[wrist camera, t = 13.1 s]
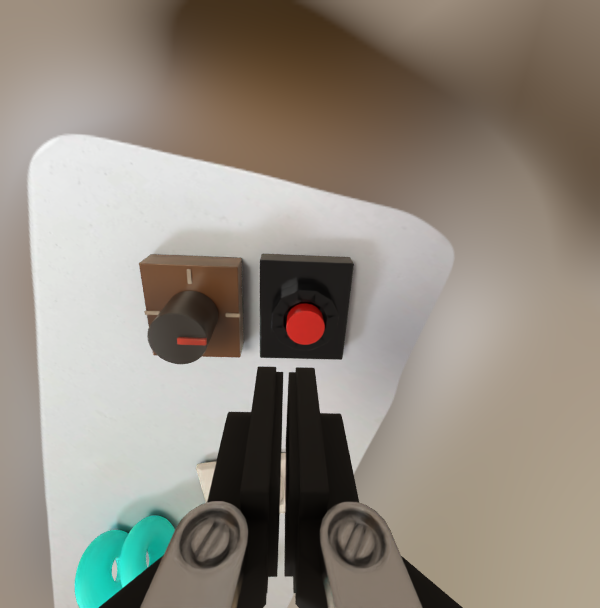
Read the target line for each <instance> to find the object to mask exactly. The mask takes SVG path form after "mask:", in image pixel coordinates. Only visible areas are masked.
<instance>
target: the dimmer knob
mask: <svg viewBox="0 0 600 608" xmlns="http://www.w3.org/2000/svg"><path fill="white" fill-rule="evenodd" d="M217 322H218V310H217V308H216V305H215V304H214V302H213V301H212V300H211V299H210V298H209V297H208V296H206V295H204V294H202V293H200V292H197V291H183V292H180V293H177V294H176V295H174V296H173V297H172V298H171V299H170V300H169V302H168V303H167V304H166V305H165V307H164V308H163V309H162V311H161V312H160V313H159V314H158V316H157V317H156V318H155V319H154V321H153V322H152V323H151V325H150V327H149V329H148V342H149V344H150V346H151V348H152V350H153V351H154V352H155V353H156V354H157V355H158V356H159V357H160V358H162V359H164V360H165V361H168V362H171V363H175V364H188V363H191V362H194V361H196V360H198V359H199V358H200V357H201V356H202V355H203V354H204V353H205V351H206V349H207V346H208V344H209V342H210V339H211V337H212V334H213V332H214V329H215V327H216V325H217Z"/></svg>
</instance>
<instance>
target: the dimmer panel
mask: <svg viewBox="0 0 600 608" xmlns="http://www.w3.org/2000/svg"><path fill="white" fill-rule="evenodd" d="M139 266H140V272H141V279H142V285H143V292H144V298H145V305H146V311H145V315H147V318H148V324H149V327H150V325H151V323H152V322H153V321H154V319H155V318H156V317H157V316H158V314H159V313H160V312H161V311H162V309H163V308H164V307H165V305H166V304H167V303H168V302H169V300H170V299H171V298H172V297H173V296H174V295H176V294H177V293H180V292H183V291H197V292H200V293H202V294H204V295H206V296H208V297H209V298H210V299H211V300H212V301H213V302H214V304H215V305H216V308H217V310H218V322H217V325H216V327H215V329H214V332H213V334H212V337H211V339H210V342H209V344H208V346H207V349H206V351H205V353H204V354H203V355H202V356H205V357H240V356H241V352H242V347H243V343H244V338H243V294H242V258H235V257H209V256H183V255H157V254H151V255H150V256H148V257H147V258H146V259H144V260H143V261H142V262H140V263H139ZM153 355H157V354H156V353H155V352H154V351H153Z"/></svg>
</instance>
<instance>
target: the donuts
mask: <svg viewBox="0 0 600 608" xmlns="http://www.w3.org/2000/svg"><path fill="white" fill-rule="evenodd" d="M174 531H175V529H174V527H173V525H172V524H171V523H170V522H169V521H168V520H167V519H166V518H164V517H161V516H158V515H153V516H148V517H146V518H144V519H142V520H141V521H139V522H138V523H137V524H136V525H135V526H134V527H133V528H132V529H131V531H130V532H129V534H128V533H127V532H125V531H121V530H110V531H107V532H105V533H103V534H101V535H99V536H98V537H97V538H95V539H94V540H93V541H92V542H91V543H90V545H89V546H88V547H87V549H86V550H85V552H84V553H83V555H82V557H81V559H80V562H79V565H78V568H77V572H76V577H75V596H76V600H77V603H78V606H79V608H99V607H100V606H101V605H102V604H104V603H105V602H106V601H107V600H108V599H110V598H111V597H112V596H113V595H115V594H116V593H117V592H118V591H120V590H121V589H122V588H123V587H125V586H126V585H127V584H128V583H129V582H131V581H132V580H133V579H134V578H136V577H137V576H138V575H139V574H141V573H142V572H143V571H144V570H146V569H147V564H146V552H147V551H148V554H149V566H150V565H152V564H153V563H154V562H155V561H157V560H158V559H159V558H160V557H162V556H163V555H164V553H165V551H166V549H167V547H168V544H169V542H170V540H171V538H172V535H173V533H174ZM114 560H116V563H117V577H116V581H114V579H113V577H112V565H113V562H114ZM149 566H148V567H149Z"/></svg>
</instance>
